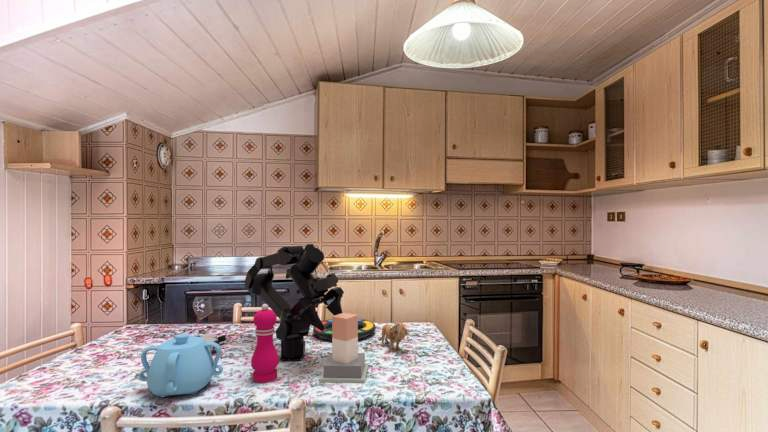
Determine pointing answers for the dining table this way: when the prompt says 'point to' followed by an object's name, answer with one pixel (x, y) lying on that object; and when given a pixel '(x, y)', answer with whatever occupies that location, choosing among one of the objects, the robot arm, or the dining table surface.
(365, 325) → the electronic game
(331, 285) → the robot arm
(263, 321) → the pepper mill
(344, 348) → the brick column
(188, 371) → the decorative pot
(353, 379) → the base brick
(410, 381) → the dining table surface
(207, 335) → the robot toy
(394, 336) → the lion figurine
